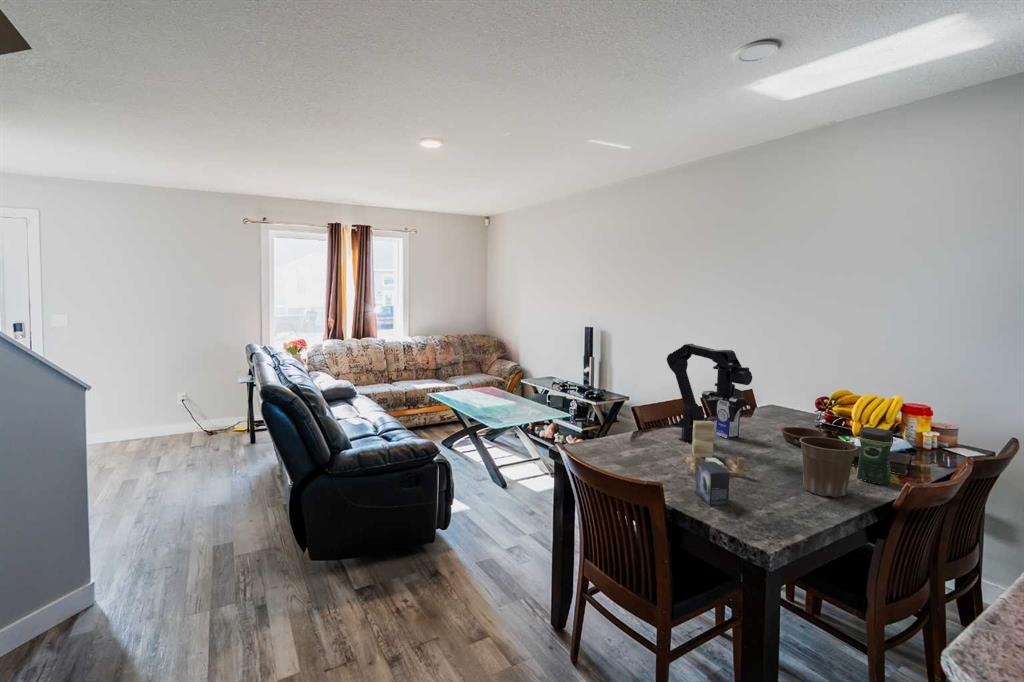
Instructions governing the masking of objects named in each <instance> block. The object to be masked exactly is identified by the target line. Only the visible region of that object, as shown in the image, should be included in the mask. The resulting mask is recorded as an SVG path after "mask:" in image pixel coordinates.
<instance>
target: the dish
mask: <svg viewBox="0 0 1024 682" xmlns="http://www.w3.org/2000/svg"><path fill="white" fill-rule="evenodd" d="M780 431H781V433H782V437H783V439H784V440H785V441H786V442H788V443H790V444H794V445H797V446H799V447H801V442H800V438H803V437H825V438H827V433H825V432H824V431H821V430H817V429H813V428H809V427H803V426H799V427H798V426H786V427H781V428H780Z"/></svg>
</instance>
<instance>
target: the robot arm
mask: <svg viewBox="0 0 1024 682" xmlns="http://www.w3.org/2000/svg"><path fill="white" fill-rule="evenodd" d="M692 356H698V357H702V358H705V359H709V360H711V361H712V362H713V363H716V364H715V365H714V366H712V369H714V370H717V373H716V374H717V375H716V378H717V379H716V380H717V381H716V382H714V386H715V387H716V391H715V390H706V391H703V392H702V393H701V398H702V399H703V401H704V402H705V403H706V405H707V407H708V408H709V411H710V414H711V415H712V417H713V418H715V417H716V418H717V405H718V401H719V400H723V401H727V402H729V404H730V406H728V409H729V418H730V422H733V421H734V419H735V416H736V414H737V412H738V411H739V409H740V410H741V409H742V408H744V407H747V406H748V400H747V399H746V398H744V397H743V394H744V391H743V390H741V389H738V388H736V385H735V384H738V385H744V386H750V385H751V383H752V382H753V374H752V371H750V367H747V366H746V367H744V366H742V364H741V362H740V361H739V359H738V357H737V355H736V353H735V351H734V350H733V349H715V348H714V349H713V348H710V347H706V346H701V345H697V344H694V343H685V344H683V345H682V346H681V347H679V348H678V349H675V350H674V351H672V352H671V353H669V354H668V355H667V357H666V362H667V365H668V368H669V369H670V370H671V371H672V372H673V373H674V376H675V378H676V382H677V386H678V390H679V392H680V396H681V400H682V404H683V409H682V415H683V416H682V418H681V419H680V420H678V422H677V423H678V427H679V428H681V437H679V438H678V440H679V441H682V442H684V441H685V442H684V443H687V442H688V443H687V444H692V443H691V442H692V439H693V421H705V419H706V417H705V416H706V413H705V412H704V406H703V405H698V404H697V402H696V399H695V395H694V392H693V389H692V386H691V382H690V378H689V375H688V372H687V369H688V365H689V363H688V360H689V359H690V358H692ZM721 397H722V398H721ZM731 397H734V398H731Z"/></svg>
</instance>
